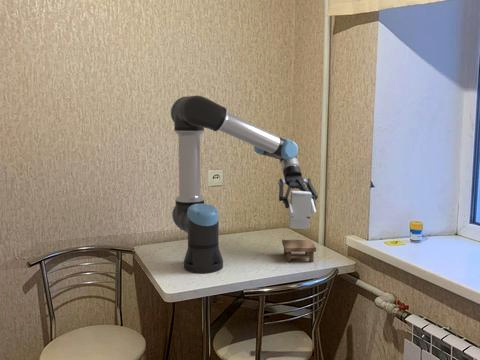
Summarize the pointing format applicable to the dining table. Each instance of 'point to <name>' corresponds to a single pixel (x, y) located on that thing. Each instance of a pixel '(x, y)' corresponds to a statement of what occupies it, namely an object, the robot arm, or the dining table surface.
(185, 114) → the robot arm
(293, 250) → the stool
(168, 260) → the dining table surface
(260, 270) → the dining table surface
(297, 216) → the skincare box
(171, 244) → the dining table surface
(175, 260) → the dining table surface
